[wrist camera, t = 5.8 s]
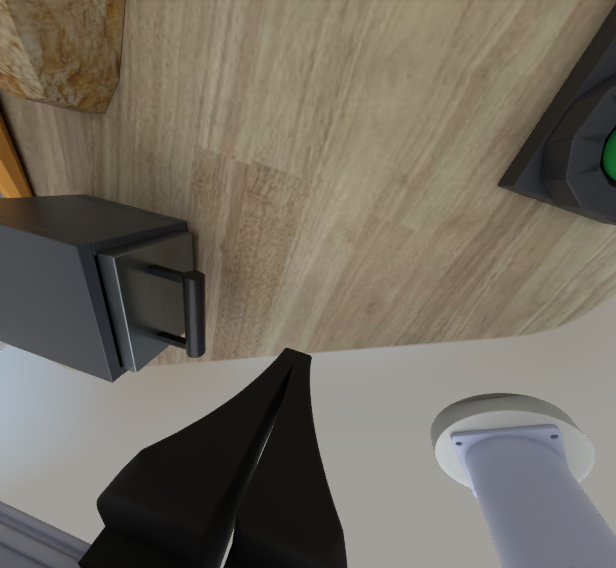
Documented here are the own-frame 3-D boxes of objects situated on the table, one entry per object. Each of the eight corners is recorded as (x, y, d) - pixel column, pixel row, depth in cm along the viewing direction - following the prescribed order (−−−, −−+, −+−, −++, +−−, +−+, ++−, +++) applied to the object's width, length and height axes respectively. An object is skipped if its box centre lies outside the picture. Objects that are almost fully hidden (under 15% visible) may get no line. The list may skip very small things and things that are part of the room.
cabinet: (186, 221, 20) (75, 246, 12) (190, 320, 25) (112, 383, 17) (83, 194, 21) (-76, 202, 14) (106, 293, 26) (-3, 340, 18)
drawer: (235, 244, 19) (173, 275, 13) (230, 334, 23) (182, 389, 17) (95, 207, 20) (-18, 219, 14) (115, 298, 25) (33, 336, 19)
